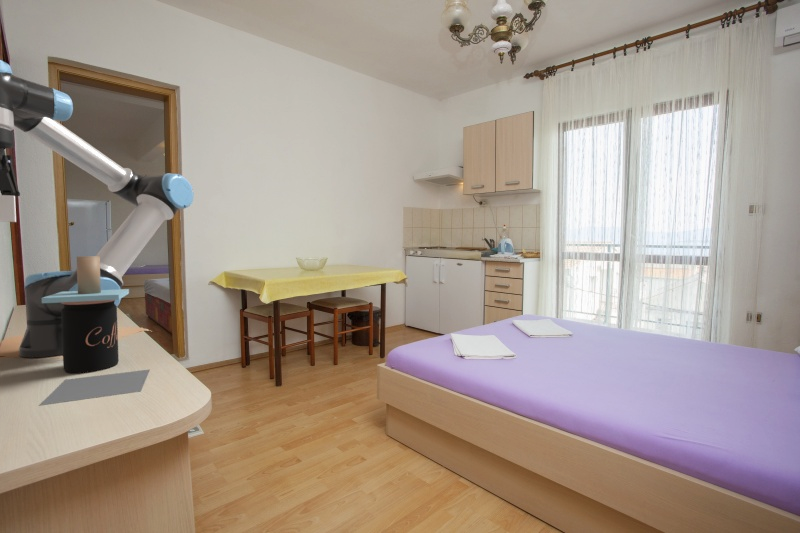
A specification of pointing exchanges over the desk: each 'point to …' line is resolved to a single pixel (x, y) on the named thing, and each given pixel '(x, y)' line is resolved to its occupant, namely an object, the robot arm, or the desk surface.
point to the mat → (97, 387)
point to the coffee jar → (89, 336)
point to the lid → (87, 284)
